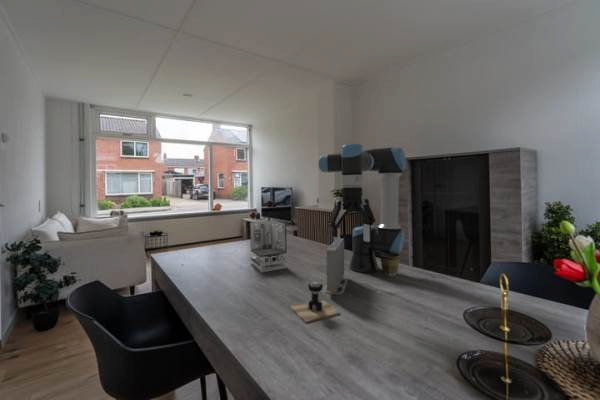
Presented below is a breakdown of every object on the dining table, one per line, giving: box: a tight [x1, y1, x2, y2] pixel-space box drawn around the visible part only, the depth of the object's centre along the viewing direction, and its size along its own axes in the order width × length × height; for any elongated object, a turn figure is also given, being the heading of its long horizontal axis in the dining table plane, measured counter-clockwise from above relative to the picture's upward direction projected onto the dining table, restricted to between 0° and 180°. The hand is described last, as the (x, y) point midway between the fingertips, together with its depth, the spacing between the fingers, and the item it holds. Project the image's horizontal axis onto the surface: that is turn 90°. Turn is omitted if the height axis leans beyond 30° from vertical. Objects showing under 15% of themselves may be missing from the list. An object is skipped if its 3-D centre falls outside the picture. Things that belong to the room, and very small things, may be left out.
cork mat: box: [288, 297, 341, 324], centre depth 103 cm, size 14×14×1 cm
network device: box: [323, 237, 348, 295], centre depth 126 cm, size 26×9×20 cm, turn 163°
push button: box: [306, 280, 323, 311], centre depth 103 cm, size 7×5×10 cm
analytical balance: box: [249, 220, 288, 273], centre depth 156 cm, size 16×19×25 cm
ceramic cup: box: [379, 252, 401, 277], centre depth 144 cm, size 13×10×10 cm
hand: (352, 243), depth 104 cm, fingers open, 13 cm apart
